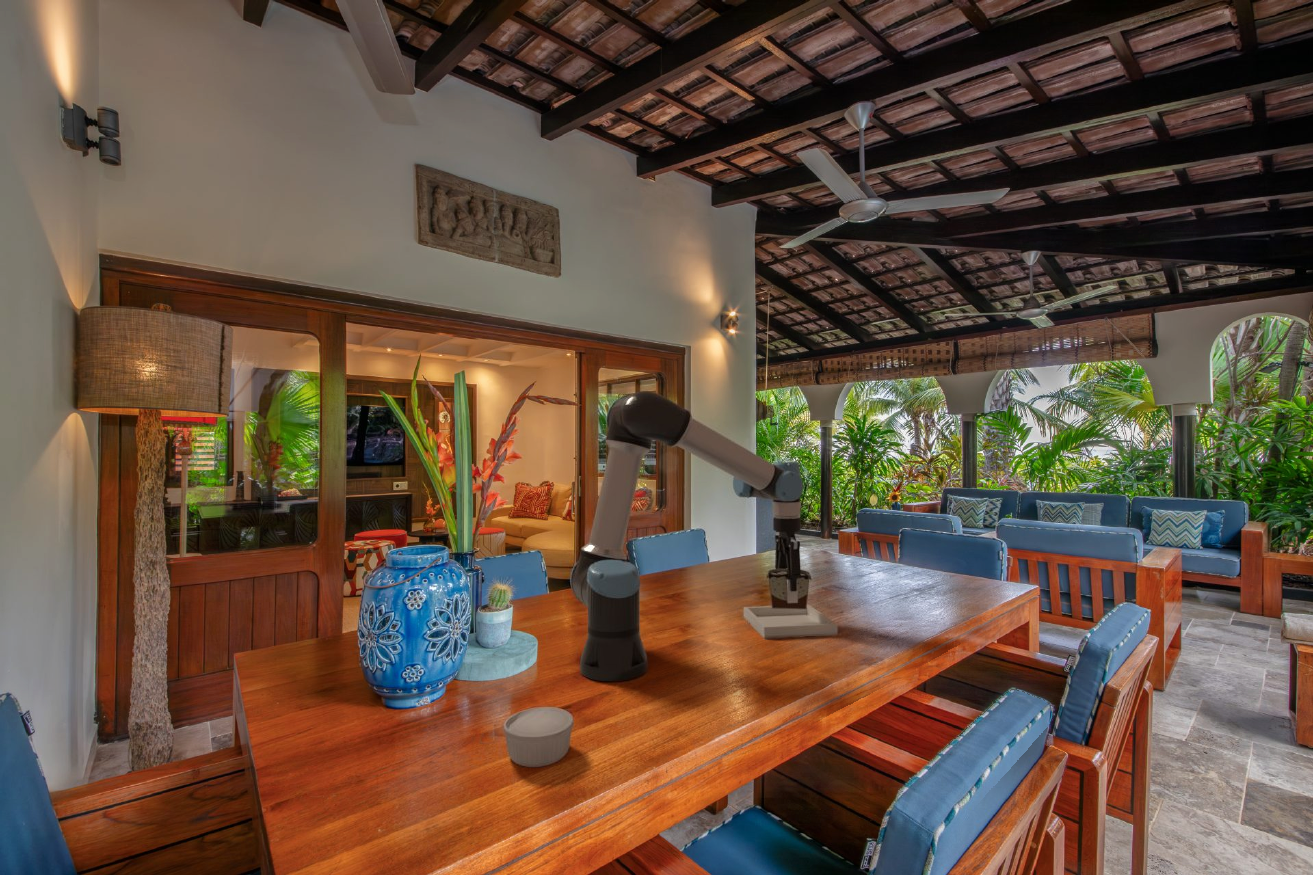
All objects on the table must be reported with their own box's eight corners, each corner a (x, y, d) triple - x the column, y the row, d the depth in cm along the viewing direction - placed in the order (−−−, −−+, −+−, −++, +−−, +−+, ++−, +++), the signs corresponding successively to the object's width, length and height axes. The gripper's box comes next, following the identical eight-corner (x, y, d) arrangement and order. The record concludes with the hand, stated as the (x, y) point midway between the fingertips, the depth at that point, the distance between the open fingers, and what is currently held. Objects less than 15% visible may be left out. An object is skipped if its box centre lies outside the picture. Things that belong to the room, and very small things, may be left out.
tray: (837, 635, 155) (837, 623, 155) (764, 638, 153) (764, 627, 153) (808, 614, 175) (808, 604, 175) (743, 617, 172) (743, 607, 173)
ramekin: (510, 737, 101) (510, 706, 101) (575, 735, 101) (575, 704, 101) (497, 773, 89) (497, 738, 90) (570, 770, 90) (570, 735, 90)
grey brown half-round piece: (808, 603, 167) (808, 568, 167) (812, 609, 160) (811, 572, 161) (764, 602, 168) (764, 567, 168) (766, 608, 162) (766, 571, 162)
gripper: (813, 520, 155) (814, 607, 155) (787, 513, 175) (788, 590, 174) (785, 521, 154) (786, 609, 154) (763, 513, 174) (764, 591, 173)
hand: (787, 599), depth 164 cm, fingers closed on grey brown half-round piece, 7 cm apart
